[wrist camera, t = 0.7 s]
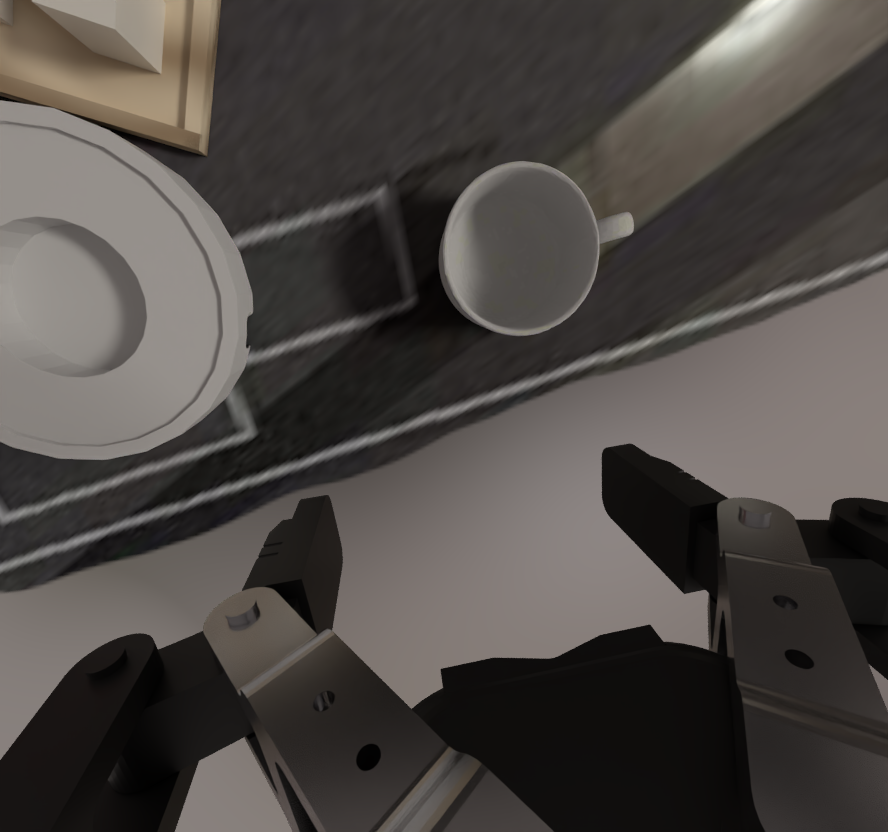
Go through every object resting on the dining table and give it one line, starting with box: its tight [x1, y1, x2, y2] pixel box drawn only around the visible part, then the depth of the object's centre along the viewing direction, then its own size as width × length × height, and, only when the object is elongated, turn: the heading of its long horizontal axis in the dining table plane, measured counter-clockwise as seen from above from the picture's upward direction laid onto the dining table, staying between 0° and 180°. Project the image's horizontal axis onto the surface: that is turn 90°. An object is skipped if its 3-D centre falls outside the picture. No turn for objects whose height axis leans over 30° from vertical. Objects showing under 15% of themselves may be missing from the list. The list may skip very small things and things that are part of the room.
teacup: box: [439, 161, 634, 336], centre depth 31 cm, size 14×11×8 cm
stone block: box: [32, 0, 166, 74], centre depth 24 cm, size 4×4×5 cm
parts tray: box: [0, 0, 221, 156], centre depth 26 cm, size 12×18×1 cm, turn 76°
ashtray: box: [0, 100, 253, 460], centre depth 30 cm, size 23×23×4 cm
